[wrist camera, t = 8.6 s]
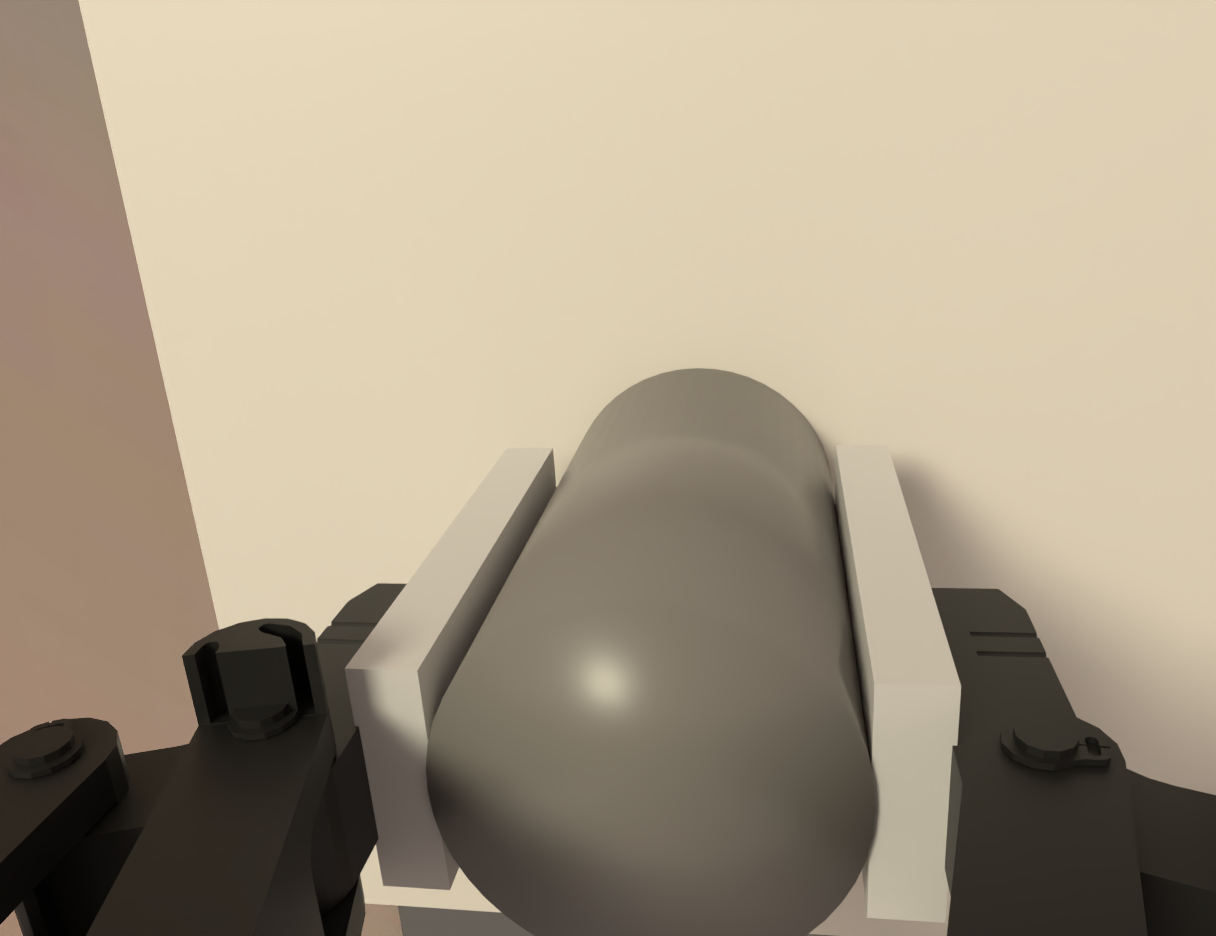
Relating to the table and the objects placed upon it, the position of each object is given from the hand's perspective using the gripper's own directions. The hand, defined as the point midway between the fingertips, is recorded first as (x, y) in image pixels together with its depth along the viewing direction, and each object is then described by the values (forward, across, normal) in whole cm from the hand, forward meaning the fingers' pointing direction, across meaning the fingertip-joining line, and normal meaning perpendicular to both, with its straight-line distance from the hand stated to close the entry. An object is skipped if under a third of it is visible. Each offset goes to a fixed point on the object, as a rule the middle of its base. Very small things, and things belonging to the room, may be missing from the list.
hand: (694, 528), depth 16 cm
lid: (+3, 0, 0) cm, 3 cm away
